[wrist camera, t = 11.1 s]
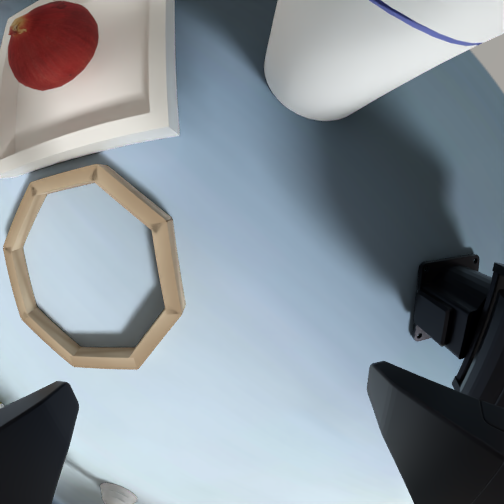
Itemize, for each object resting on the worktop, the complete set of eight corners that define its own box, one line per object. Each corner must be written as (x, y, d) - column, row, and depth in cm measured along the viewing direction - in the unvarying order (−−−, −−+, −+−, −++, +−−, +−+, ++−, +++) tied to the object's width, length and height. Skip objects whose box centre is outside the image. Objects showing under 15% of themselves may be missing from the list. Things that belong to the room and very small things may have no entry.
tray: (175, -25, 14) (168, -47, 11) (179, 135, 17) (169, 126, 14) (26, 30, 14) (7, 18, 11) (14, 177, 17) (-11, 178, 14)
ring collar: (165, 153, 17) (159, 151, 16) (196, 356, 20) (193, 368, 19) (7, 192, 17) (-5, 194, 16) (45, 354, 20) (37, 363, 19)
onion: (46, 53, 14) (-17, 17, 6) (110, 17, 14) (62, -41, 6) (51, 114, 15) (-26, 92, 8) (121, 77, 15) (60, 25, 7)
